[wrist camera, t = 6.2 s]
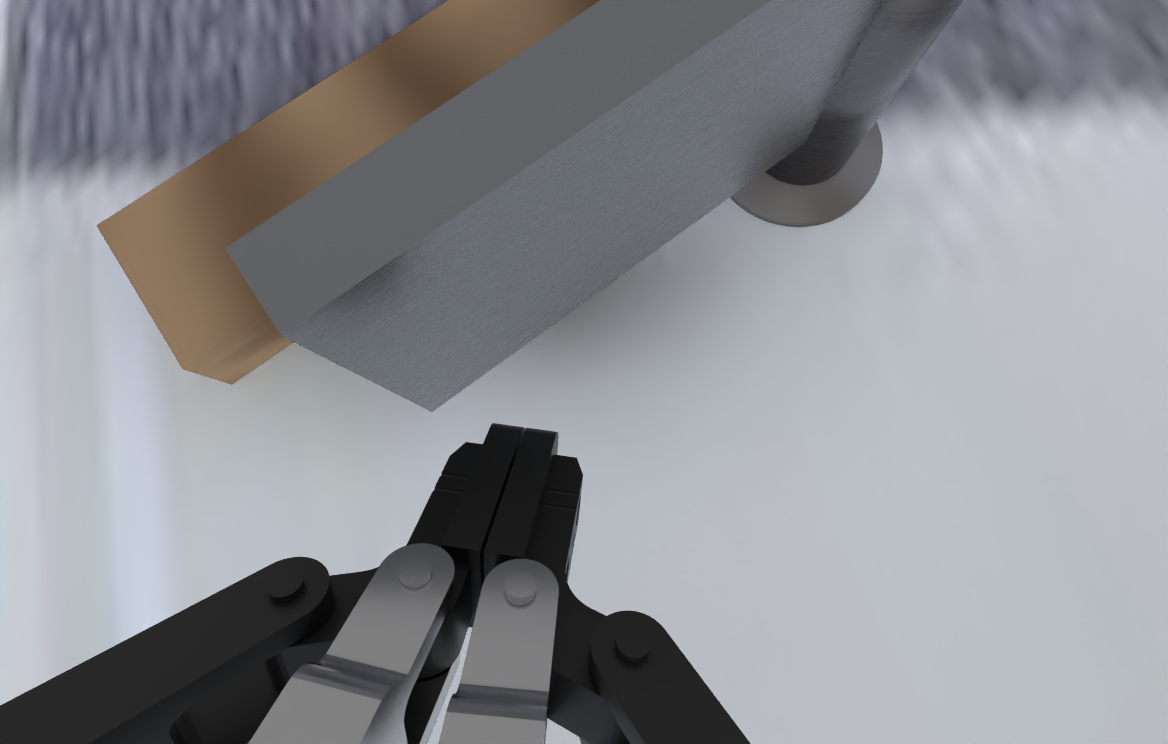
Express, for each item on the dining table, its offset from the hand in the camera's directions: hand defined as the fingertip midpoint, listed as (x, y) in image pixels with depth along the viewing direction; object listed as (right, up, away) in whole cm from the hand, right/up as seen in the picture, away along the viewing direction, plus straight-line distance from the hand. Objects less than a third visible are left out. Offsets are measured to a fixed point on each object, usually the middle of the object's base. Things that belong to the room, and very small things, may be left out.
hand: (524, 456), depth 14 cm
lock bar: (+4, +6, +7) cm, 10 cm away
